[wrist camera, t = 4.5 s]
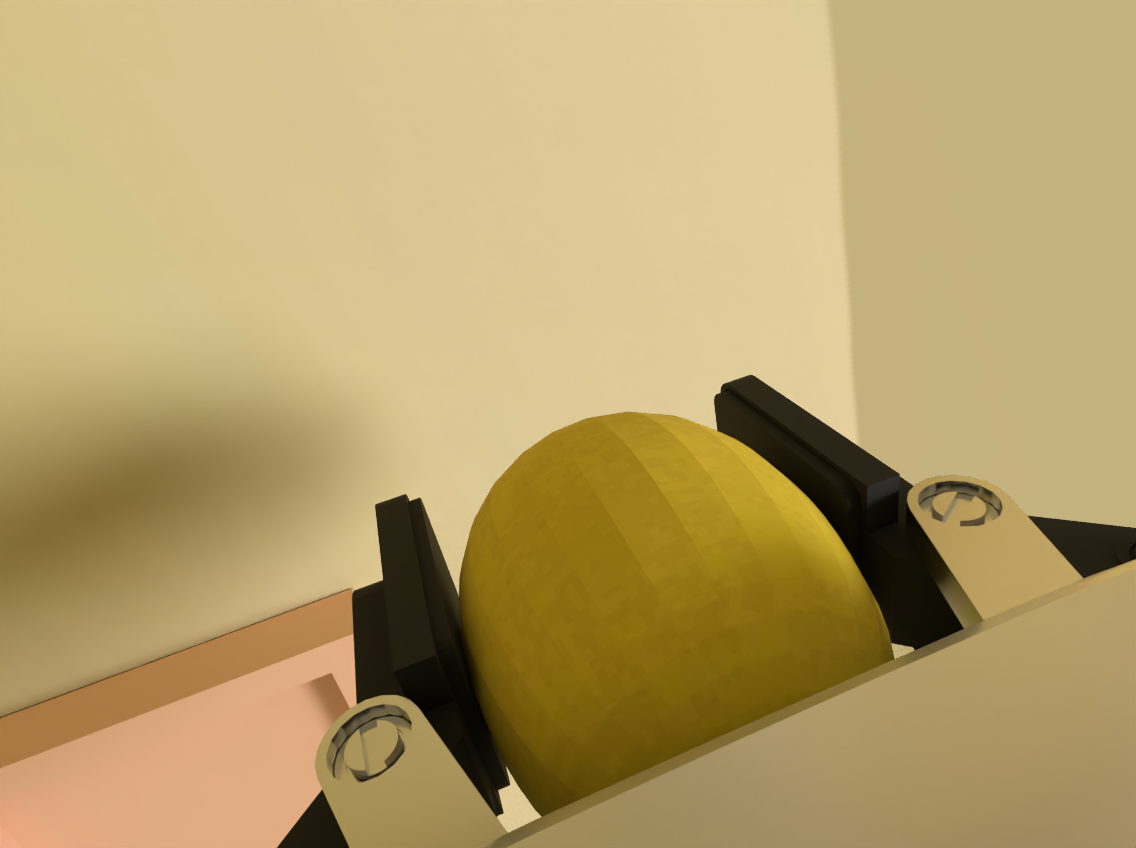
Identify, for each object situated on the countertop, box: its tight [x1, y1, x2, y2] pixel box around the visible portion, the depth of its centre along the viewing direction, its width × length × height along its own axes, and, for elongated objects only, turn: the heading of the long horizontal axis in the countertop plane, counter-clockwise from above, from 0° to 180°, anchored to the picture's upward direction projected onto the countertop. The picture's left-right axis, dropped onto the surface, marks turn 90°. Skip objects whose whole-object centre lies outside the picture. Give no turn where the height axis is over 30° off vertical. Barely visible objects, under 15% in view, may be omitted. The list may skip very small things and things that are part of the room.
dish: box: [0, 589, 357, 848], centre depth 22 cm, size 12×12×2 cm
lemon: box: [459, 412, 894, 817], centre depth 10 cm, size 6×6×8 cm
